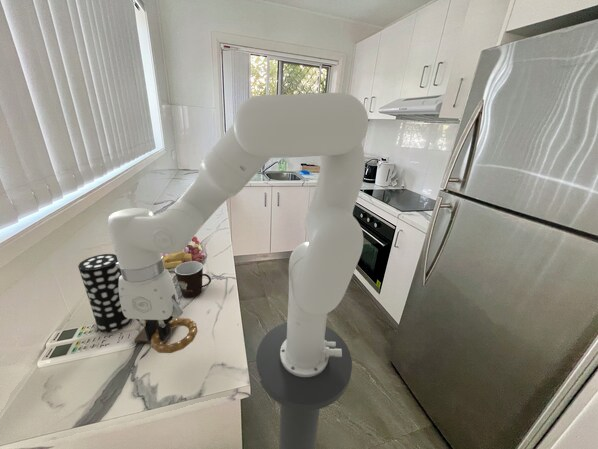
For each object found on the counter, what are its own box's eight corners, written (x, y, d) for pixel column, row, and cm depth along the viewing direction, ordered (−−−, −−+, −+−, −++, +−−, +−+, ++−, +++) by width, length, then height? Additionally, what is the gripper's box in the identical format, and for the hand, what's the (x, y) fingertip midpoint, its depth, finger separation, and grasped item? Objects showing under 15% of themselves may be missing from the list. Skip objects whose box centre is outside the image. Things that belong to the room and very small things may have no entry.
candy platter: (208, 266, 101) (207, 246, 97) (142, 280, 90) (137, 258, 86) (199, 242, 121) (197, 225, 117) (144, 251, 110) (140, 232, 106)
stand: (179, 322, 72) (174, 294, 68) (164, 344, 64) (158, 314, 61) (152, 320, 72) (146, 292, 68) (134, 342, 64) (126, 312, 61)
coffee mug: (174, 292, 84) (170, 267, 81) (197, 282, 90) (195, 258, 87) (190, 308, 77) (186, 282, 74) (214, 296, 83) (212, 271, 80)
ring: (203, 322, 61) (203, 317, 61) (186, 355, 52) (185, 349, 52) (165, 321, 61) (164, 315, 61) (142, 354, 52) (140, 348, 52)
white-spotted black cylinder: (100, 317, 72) (81, 257, 65) (133, 308, 76) (119, 251, 69) (95, 336, 65) (74, 273, 58) (132, 326, 69) (117, 265, 62)
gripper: (90, 277, 47) (113, 348, 53) (172, 279, 46) (186, 351, 53) (117, 257, 54) (135, 323, 60) (190, 260, 53) (199, 325, 60)
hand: (159, 335), depth 57 cm, fingers closed on ring, 2 cm apart
